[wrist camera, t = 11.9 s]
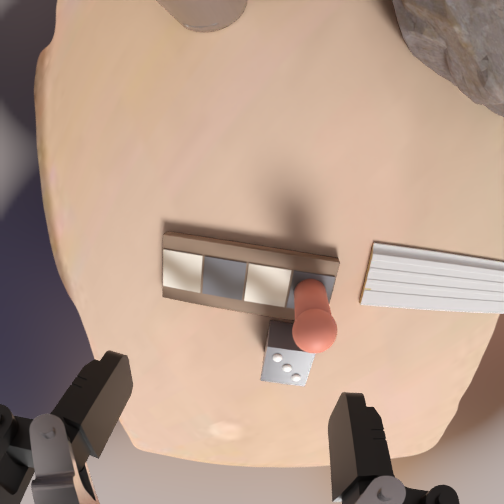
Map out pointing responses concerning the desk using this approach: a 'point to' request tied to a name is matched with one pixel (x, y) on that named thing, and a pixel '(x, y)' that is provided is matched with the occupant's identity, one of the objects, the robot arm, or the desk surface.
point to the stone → (459, 43)
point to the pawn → (313, 317)
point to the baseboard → (432, 280)
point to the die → (284, 357)
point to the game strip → (240, 274)
